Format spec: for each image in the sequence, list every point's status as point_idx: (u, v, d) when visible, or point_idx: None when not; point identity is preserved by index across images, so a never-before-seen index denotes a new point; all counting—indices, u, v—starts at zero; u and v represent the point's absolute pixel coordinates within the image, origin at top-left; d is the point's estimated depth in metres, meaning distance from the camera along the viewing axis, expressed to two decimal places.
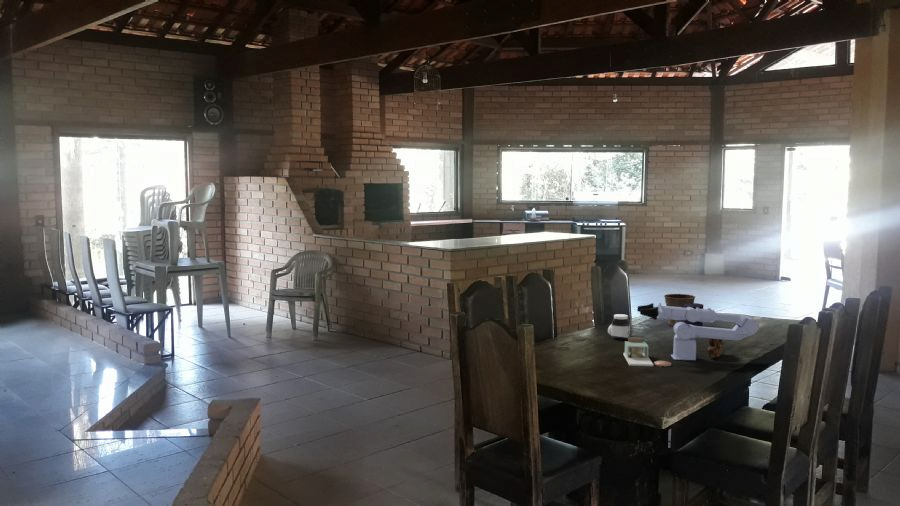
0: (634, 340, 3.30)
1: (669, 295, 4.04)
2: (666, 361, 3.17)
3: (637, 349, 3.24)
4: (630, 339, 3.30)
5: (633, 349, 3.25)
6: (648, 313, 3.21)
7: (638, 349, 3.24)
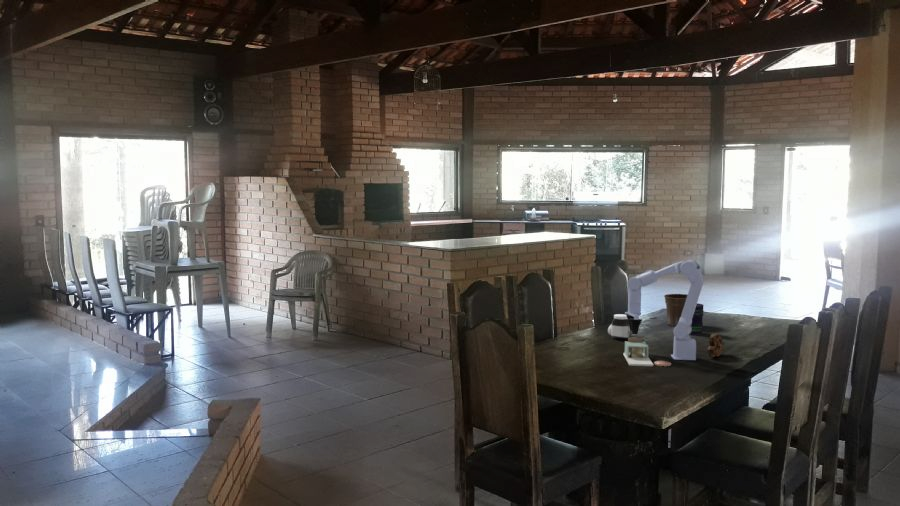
0: (634, 340, 3.30)
1: (669, 295, 4.04)
2: (666, 361, 3.17)
3: (637, 349, 3.24)
4: (630, 339, 3.30)
5: (633, 349, 3.25)
6: (636, 326, 3.31)
7: (638, 349, 3.24)
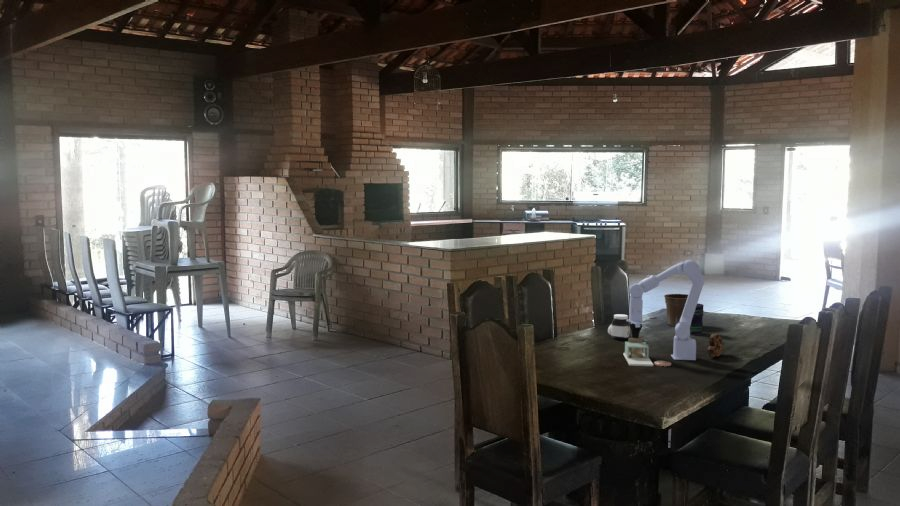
0: (634, 340, 3.29)
1: (669, 295, 4.04)
2: (666, 361, 3.17)
3: (637, 349, 3.24)
4: (630, 339, 3.29)
5: (633, 349, 3.25)
6: (636, 332, 3.30)
7: (638, 349, 3.24)
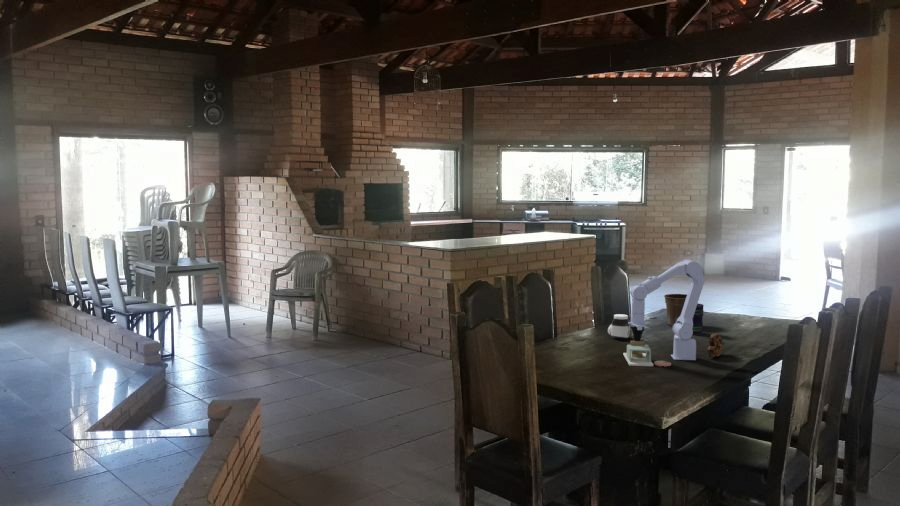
0: (636, 343, 3.23)
1: (669, 295, 4.04)
2: (666, 361, 3.17)
3: None
4: (632, 342, 3.23)
5: None
6: (638, 335, 3.24)
7: None
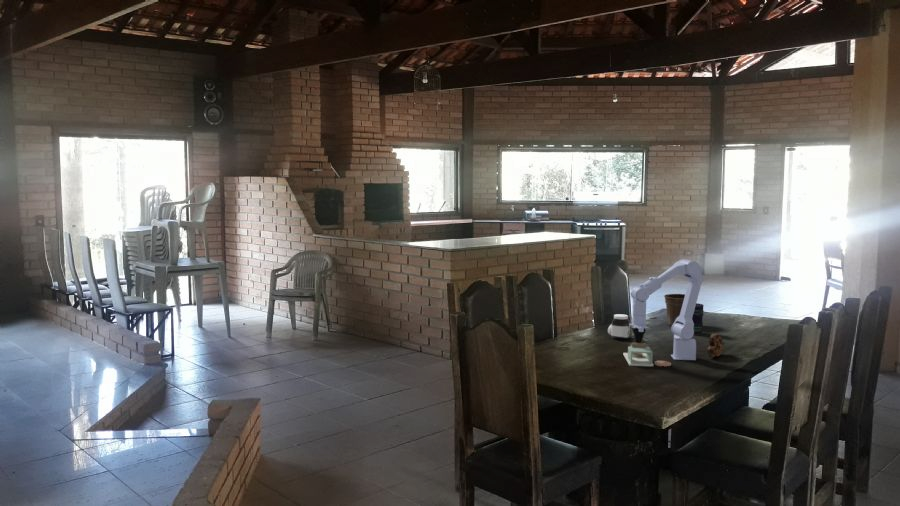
0: (637, 345, 3.20)
1: (669, 295, 4.04)
2: (666, 361, 3.17)
3: None
4: (633, 344, 3.20)
5: None
6: (639, 337, 3.20)
7: None
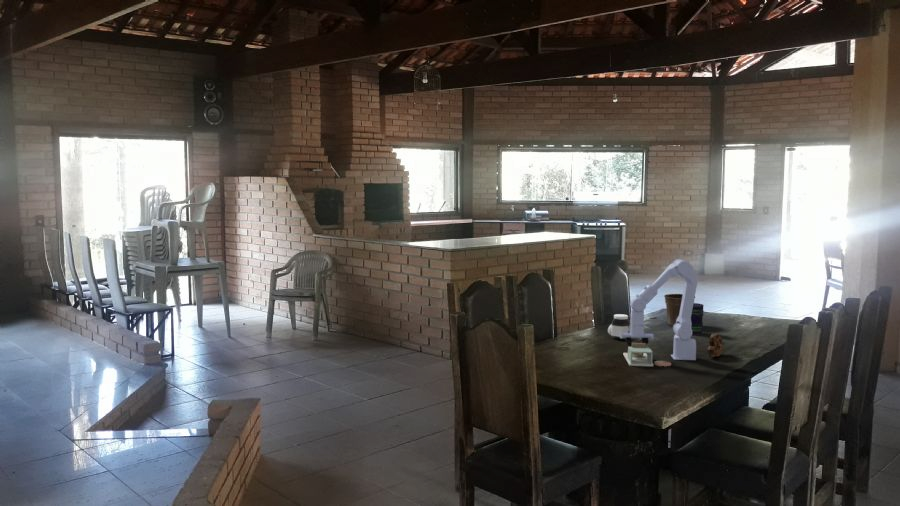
0: (638, 345, 3.19)
1: (669, 295, 4.04)
2: (666, 361, 3.17)
3: None
4: (633, 344, 3.20)
5: None
6: (629, 346, 3.27)
7: None
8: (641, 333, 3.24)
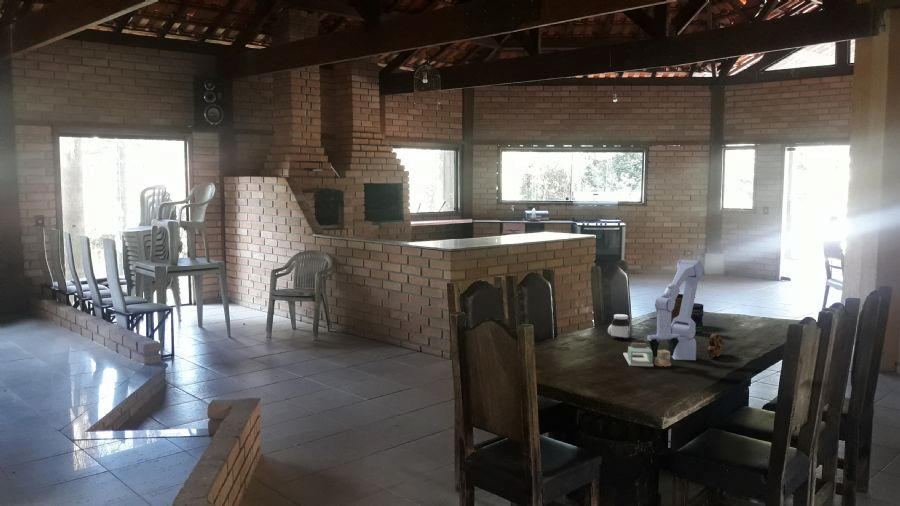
0: (638, 345, 3.19)
1: None
2: None
3: (665, 354, 3.12)
4: (633, 344, 3.20)
5: (662, 354, 3.12)
6: (654, 348, 3.13)
7: (666, 353, 3.13)
8: (670, 334, 3.12)
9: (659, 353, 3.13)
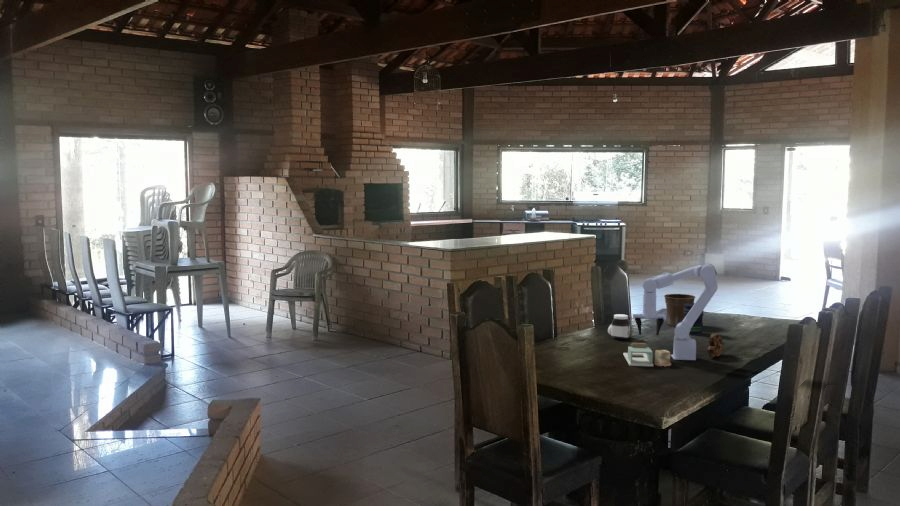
0: (638, 345, 3.19)
1: (669, 295, 4.04)
2: None
3: (665, 354, 3.12)
4: (633, 344, 3.20)
5: (662, 354, 3.12)
6: None
7: (666, 353, 3.13)
8: (653, 313, 3.27)
9: (659, 353, 3.13)
